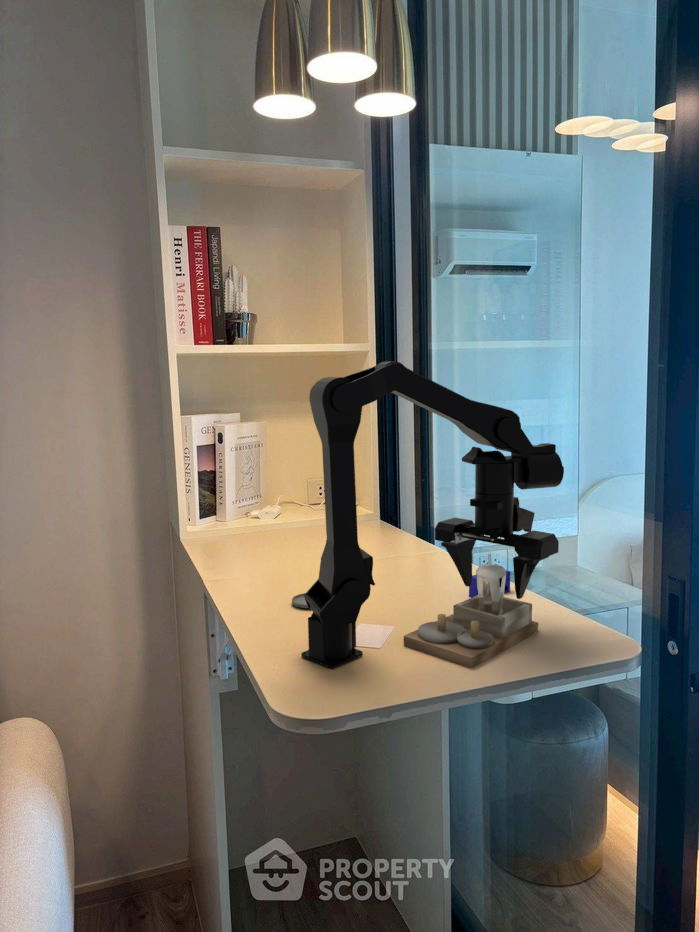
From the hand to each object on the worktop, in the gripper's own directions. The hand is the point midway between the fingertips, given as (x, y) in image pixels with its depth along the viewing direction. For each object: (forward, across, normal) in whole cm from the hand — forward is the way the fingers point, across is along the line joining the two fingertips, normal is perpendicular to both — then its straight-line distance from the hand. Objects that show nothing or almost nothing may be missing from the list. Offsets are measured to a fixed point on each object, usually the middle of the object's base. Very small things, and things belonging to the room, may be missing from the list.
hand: (493, 591), depth 109 cm
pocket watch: (+7, +30, +9) cm, 32 cm away
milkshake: (+5, 0, 0) cm, 5 cm away
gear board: (+6, +1, +4) cm, 8 cm away
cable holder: (+7, +11, -16) cm, 21 cm away
